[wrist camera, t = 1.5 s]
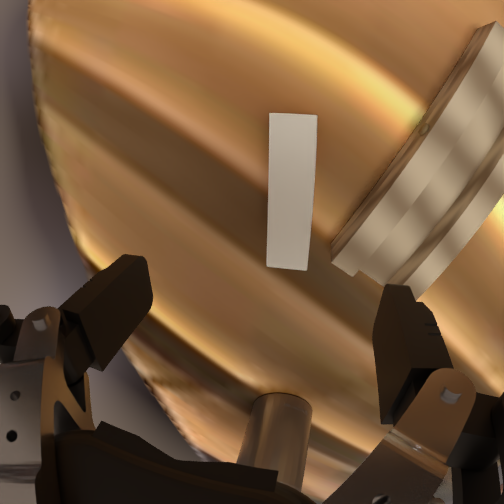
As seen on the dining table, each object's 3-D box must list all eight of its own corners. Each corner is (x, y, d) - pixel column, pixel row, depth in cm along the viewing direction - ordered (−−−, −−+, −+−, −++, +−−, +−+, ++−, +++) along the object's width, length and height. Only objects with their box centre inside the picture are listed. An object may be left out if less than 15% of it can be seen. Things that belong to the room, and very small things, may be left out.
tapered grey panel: (311, 230, 29) (306, 270, 22) (280, 227, 30) (266, 266, 23) (317, 115, 24) (317, 115, 17) (283, 113, 25) (269, 113, 18)
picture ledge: (396, 290, 30) (404, 312, 26) (328, 242, 29) (328, 260, 26) (535, 93, 16) (557, 94, 13) (475, 26, 16) (493, 18, 12)
